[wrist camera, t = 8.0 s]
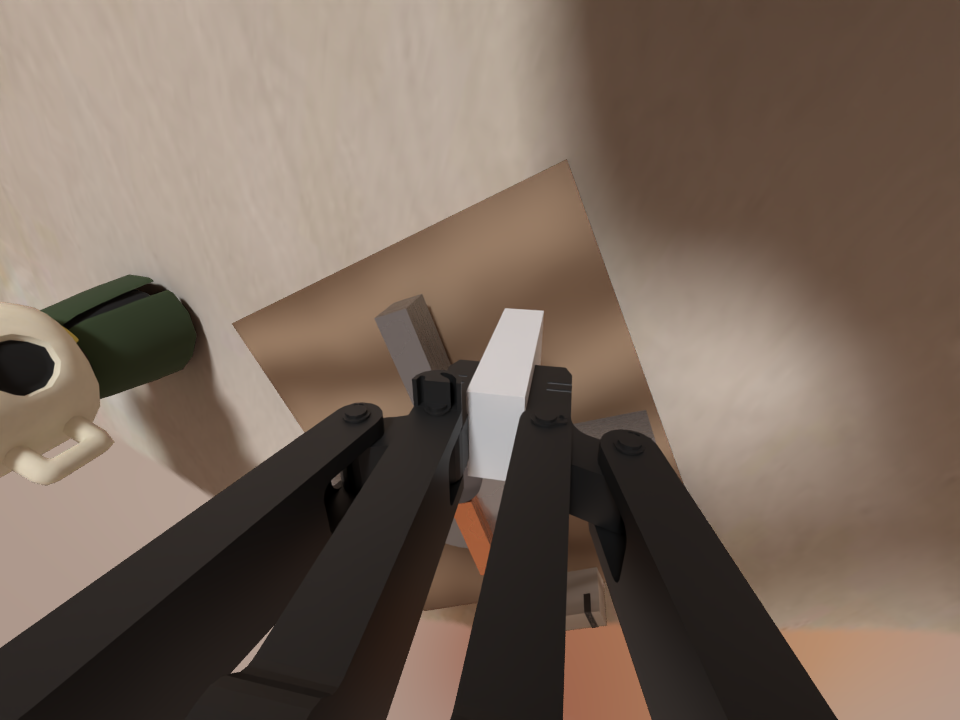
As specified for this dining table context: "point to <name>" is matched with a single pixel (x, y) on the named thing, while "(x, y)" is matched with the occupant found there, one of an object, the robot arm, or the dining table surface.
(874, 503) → the dining table surface
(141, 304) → the character mug
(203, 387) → the dining table surface
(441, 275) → the wooden mounting board
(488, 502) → the four-spoke handwheel
